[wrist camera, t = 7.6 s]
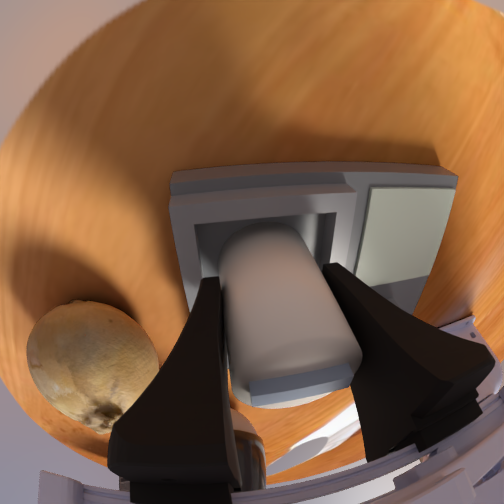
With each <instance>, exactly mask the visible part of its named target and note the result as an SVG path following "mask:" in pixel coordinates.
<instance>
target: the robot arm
mask: <svg viewBox="0 0 504 504" xmlns="http://www.w3.org/2000/svg"><path fill="white" fill-rule="evenodd" d="M322 274H323V276H324V278H325V280H326V282H327V284H328V285H329V287H330V289H331V291H332V293H333V295H334V297H335V299H336V301H337V303H338V304H339V306H340V308H341V310H342V312H343V314H344V316H345V318H346V320H347V322H348V324H349V326H350V328H351V330H352V332H353V334H354V336H355V338H356V340H357V342H358V344H359V346H360V348H361V351H362V362H361V364H360V366H359V368H358V370H357V371H356V373H355V374H354V377H353V379H352V381H351V383H350V386H351V390H352V393H353V397H354V400H355V404H356V408H357V412H358V416H359V421H360V425H361V430H362V435H363V441H364V447H365V454H366V460H367V463H366V464H363V465H361V466H358V467H355V468H352V469H348V470H346V471H342V472H339V473H336V474H332V475H329V476H325V477H321V478H317V479H314V480H309V481H305V482H301V483H296V484H291V485H286V486H281V487H275V488H270V489H263V490H255V491H247V492H241V491H242V489H241V486H242V485H243V484H242V478H241V473H240V467H239V461H238V455H237V449H236V443H235V437H234V430H233V424H232V417H231V410H230V402H229V394H228V371H227V346H226V337H225V328H224V318H223V305H222V295H221V286H220V278H219V276H214V277H205V278H202V279H201V280H200V286H199V290H198V293H197V296H196V299H195V302H194V305H193V307H192V310H191V312H190V315H189V317H188V320H187V322H186V324H185V326H184V328H183V330H182V332H181V334H180V336H179V338H178V340H177V342H176V344H175V346H174V348H173V349H172V351H171V353H170V355H169V356H168V358H167V359H166V361H165V363H164V364H163V366H162V367H161V369H160V370H159V372H158V373H157V375H156V376H155V377H154V379H153V380H152V381H151V383H150V384H149V385H148V386H147V388H146V389H145V390H144V391H143V393H142V394H141V395H140V396H139V398H138V399H137V400H136V401H135V402H134V404H133V405H132V406H131V407H130V408H129V409H128V410H127V411H126V412H125V413H124V414H123V415H122V416H121V417H120V418H119V419H118V420H117V421H116V422H115V423H114V424H113V427H112V431H111V435H110V440H109V445H108V460H107V466H108V468H109V469H110V471H112V472H113V473H115V474H116V475H118V476H120V477H122V478H124V479H126V480H128V481H130V492H127V491H119V490H112V489H106V488H100V487H94V486H89V485H84V484H82V483H81V482H79V481H76V480H74V479H71V478H68V477H65V476H61V475H58V474H54V473H50V472H47V471H44V470H42V471H40V479H39V492H38V504H292V503H297V502H301V501H306V500H310V499H314V498H317V497H321V496H325V495H329V494H332V493H336V492H339V491H342V490H345V489H348V488H351V487H354V486H357V485H360V484H363V483H365V482H368V481H371V480H374V479H376V478H379V477H381V476H384V475H386V474H388V473H390V472H393V471H395V470H397V469H400V468H402V467H404V466H406V465H408V464H410V463H412V462H414V461H416V460H418V459H420V458H422V457H423V462H422V463H420V464H418V465H416V466H415V467H413V468H412V469H410V470H408V471H406V472H405V473H403V474H401V475H399V476H397V477H395V478H394V479H393V482H394V485H395V490H392V491H390V492H388V493H386V494H383V495H381V496H378V497H376V498H373V499H371V500H368V501H365V502H363V503H360V504H504V386H503V387H502V388H501V389H500V390H499V388H500V386H501V383H502V368H501V365H500V362H499V360H498V359H497V357H496V356H495V354H494V353H493V351H492V350H491V348H490V347H489V345H488V344H487V343H486V341H485V340H484V338H483V337H482V336H481V334H480V333H479V331H478V330H477V329H476V327H475V326H474V325H473V322H474V321H475V319H476V317H475V316H474V315H472V316H470V317H467V318H465V319H462V320H460V321H457V322H455V323H452V324H449V325H447V326H444V327H441V328H439V329H438V328H436V327H434V326H432V325H430V324H427V323H425V322H423V321H422V320H420V319H418V318H416V317H414V316H412V315H411V314H409V313H407V312H406V311H404V310H402V309H401V308H399V307H397V306H396V305H394V304H393V303H392V302H390V301H389V300H387V299H386V298H384V297H383V296H381V295H380V294H379V293H377V292H376V291H375V290H373V289H372V288H371V287H369V286H368V285H367V284H365V283H364V282H363V281H361V280H360V279H359V278H358V277H356V276H355V275H354V274H352V273H351V272H350V271H348V270H347V269H346V268H345V267H343V266H342V265H340V264H339V263H338V262H335V263H327V264H323V269H322ZM498 390H499V392H498ZM497 392H498V393H497ZM496 393H497V394H496ZM234 492H238V493H234Z"/></svg>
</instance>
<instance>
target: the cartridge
mask: <svg viewBox="0 0 504 504" xmlns="http://www.w3.org/2000/svg"><path fill="white" fill-rule="evenodd" d="M218 269H219V278H220V286H221V295H222V305H223V318H224V328H225V337H226V346H227V354H228V363H229V371H230V379H231V386H232V391H233V394H234V395H235V397H236V398H237V399H238V400H240V401H241V402H243V403H245V404H247V405H250V406H252V407H258V408H267V409H277V408H288V407H294V406H298V405H302V404H306V403H309V402H312V401H315V400H317V399H319V398H322V397H324V396H326V395H328V394H330V393H332V392H333V391H336V390H340V389H344V388H348V387H349V386H350V383H351V381H352V379H353V377H354V374H355V373H356V371H357V370H358V368H359V366H360V364H361V362H362V351H361V348H360V346H359V344H358V342H357V340H356V338H355V336H354V334H353V332H352V330H351V328H350V326H349V324H348V322H347V320H346V318H345V316H344V314H343V312H342V310H341V308H340V306H339V304H338V303H337V301H336V299H335V297H334V295H333V293H332V291H331V289H330V287H329V285H328V284H327V282H326V280H325V278H324V276H323V274H322V272H321V271H320V269H319V267H318V265H317V263H316V261H315V260H314V258H313V256H312V254H311V252H310V251H309V249H308V247H307V245H306V243H305V242H304V240H303V238H302V237H301V236H300V234H299V233H298V232H297V231H295V230H294V229H293V228H291V227H289V226H287V225H285V224H282V223H277V222H259V223H254V224H251V225H248V226H246V227H244V228H242V229H240V230H238V231H237V232H235V233H234V234H233V235H232V236H231V237H230V238H229V239H228V240H227V241H226V242H225V244H224V245H223V247H222V249H221V251H220V255H219V259H218Z"/></svg>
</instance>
